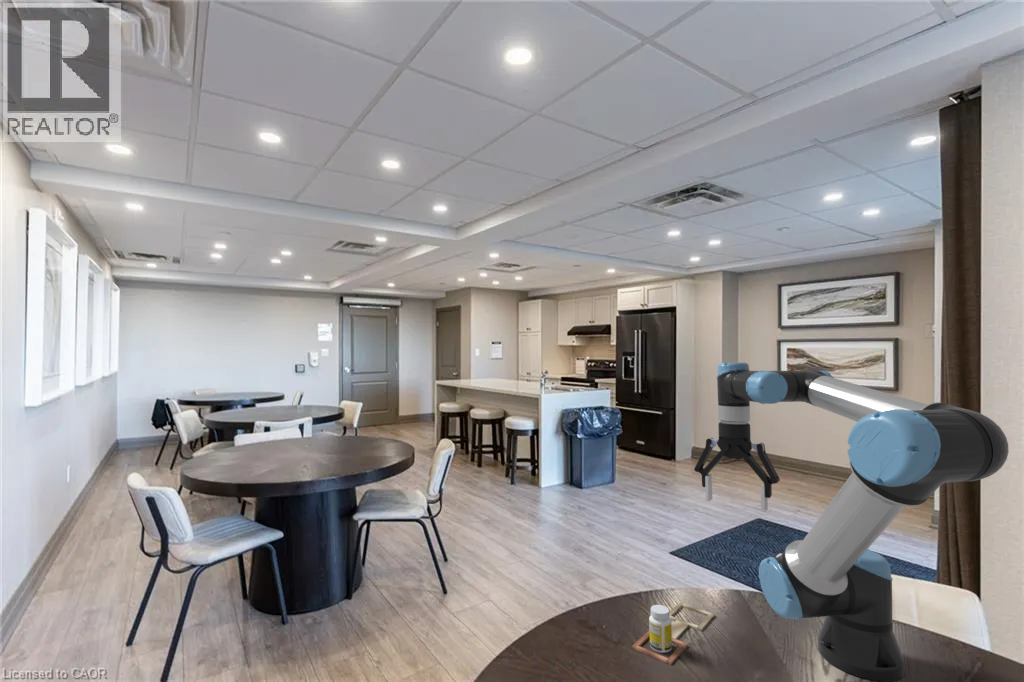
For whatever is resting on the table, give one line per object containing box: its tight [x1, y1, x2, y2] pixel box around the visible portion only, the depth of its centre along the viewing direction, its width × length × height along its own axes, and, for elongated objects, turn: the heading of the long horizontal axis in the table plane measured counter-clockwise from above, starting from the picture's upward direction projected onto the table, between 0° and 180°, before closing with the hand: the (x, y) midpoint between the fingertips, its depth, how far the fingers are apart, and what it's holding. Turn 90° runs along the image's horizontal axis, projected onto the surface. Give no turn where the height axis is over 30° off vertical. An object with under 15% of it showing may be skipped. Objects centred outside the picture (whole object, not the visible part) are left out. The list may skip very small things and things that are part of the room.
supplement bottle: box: [648, 604, 673, 654], centre depth 110 cm, size 5×5×8 cm
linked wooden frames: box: [631, 602, 716, 666], centre depth 116 cm, size 9×26×1 cm, turn 138°
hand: (735, 505), depth 126 cm, fingers open, 13 cm apart
